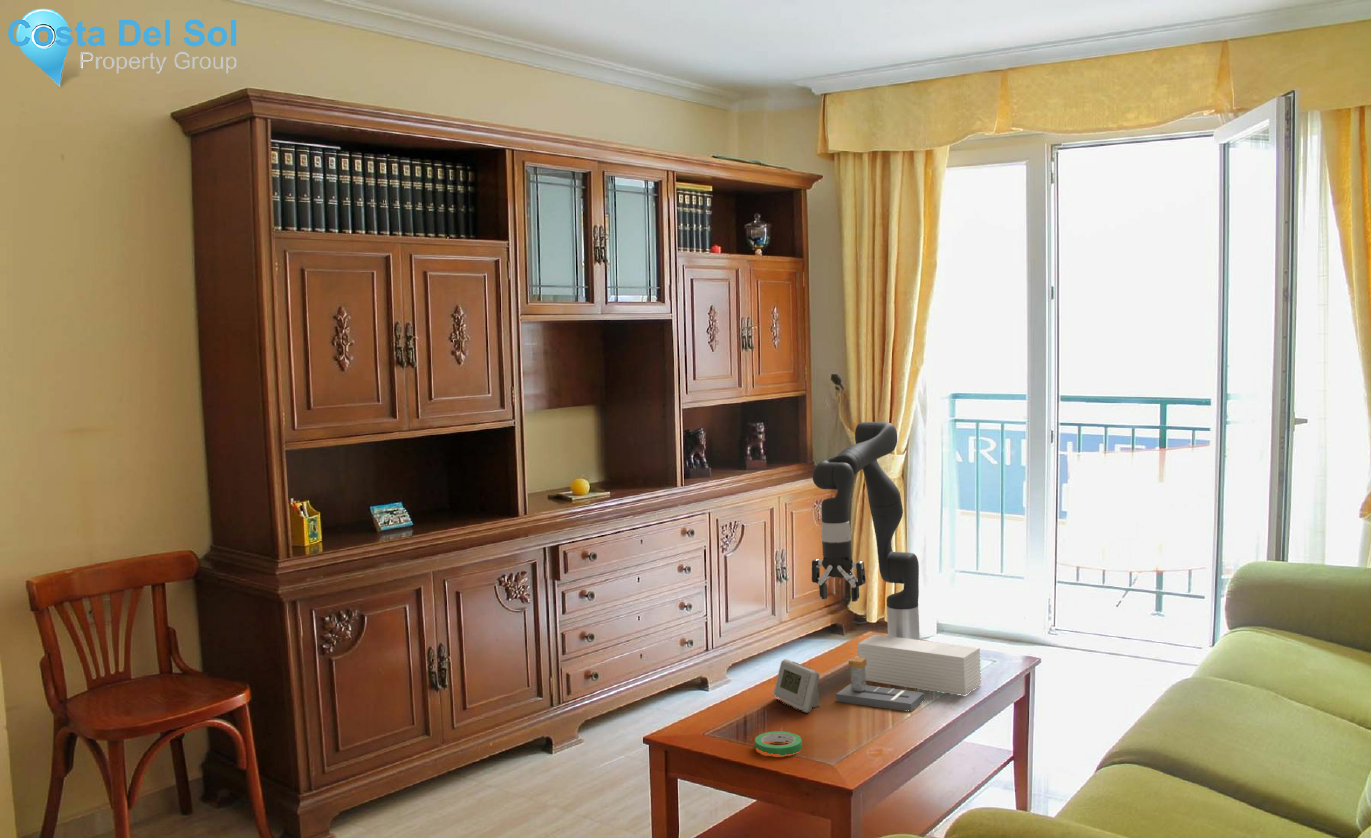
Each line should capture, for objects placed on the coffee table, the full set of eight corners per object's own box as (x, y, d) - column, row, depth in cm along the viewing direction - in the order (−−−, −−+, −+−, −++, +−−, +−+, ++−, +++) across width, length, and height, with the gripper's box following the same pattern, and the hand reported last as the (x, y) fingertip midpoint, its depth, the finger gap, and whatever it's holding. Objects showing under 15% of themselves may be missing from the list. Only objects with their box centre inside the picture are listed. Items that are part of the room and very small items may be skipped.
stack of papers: (981, 686, 290) (979, 647, 289) (965, 697, 281) (963, 657, 281) (876, 670, 310) (875, 634, 309) (859, 680, 301) (857, 642, 301)
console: (851, 690, 291) (850, 682, 291) (924, 700, 280) (924, 692, 280) (836, 701, 283) (835, 693, 283) (911, 711, 272) (911, 703, 272)
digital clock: (771, 698, 288) (769, 660, 288) (801, 693, 291) (799, 655, 290) (794, 716, 273) (792, 676, 272) (826, 711, 275) (824, 671, 275)
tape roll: (811, 748, 251) (810, 737, 251) (782, 762, 243) (782, 751, 243) (774, 738, 259) (774, 727, 258) (745, 752, 251) (745, 741, 250)
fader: (855, 686, 287) (853, 657, 287) (867, 688, 285) (866, 658, 285) (849, 690, 284) (848, 660, 284) (862, 692, 282) (861, 662, 282)
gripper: (867, 537, 274) (870, 598, 275) (817, 535, 282) (820, 594, 283) (856, 542, 268) (859, 605, 269) (805, 540, 275) (808, 601, 276)
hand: (839, 599), depth 276 cm, fingers open, 8 cm apart
